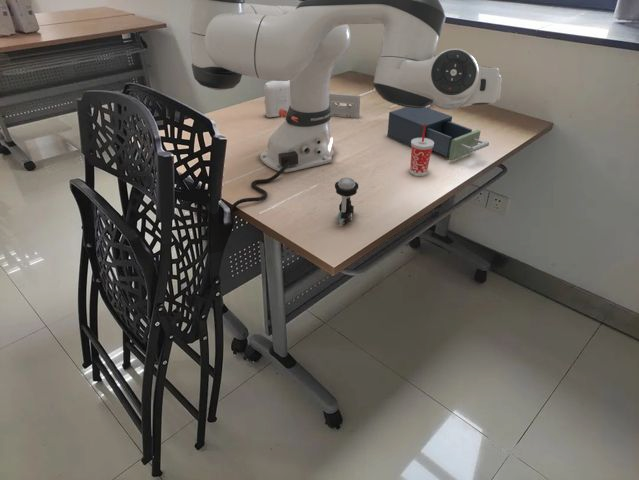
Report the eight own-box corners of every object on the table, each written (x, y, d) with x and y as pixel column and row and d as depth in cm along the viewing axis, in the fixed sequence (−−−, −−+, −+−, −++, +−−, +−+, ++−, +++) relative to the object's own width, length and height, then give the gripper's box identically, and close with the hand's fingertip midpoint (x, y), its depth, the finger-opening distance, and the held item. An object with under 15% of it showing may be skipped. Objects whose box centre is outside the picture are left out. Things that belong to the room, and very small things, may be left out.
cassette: (325, 115, 162) (325, 94, 157) (327, 113, 163) (327, 92, 159) (358, 118, 159) (359, 96, 155) (359, 116, 161) (360, 95, 156)
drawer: (490, 156, 132) (495, 136, 128) (465, 167, 127) (470, 146, 123) (441, 136, 144) (444, 117, 140) (416, 145, 138) (419, 126, 135)
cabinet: (448, 141, 143) (452, 116, 138) (421, 151, 137) (424, 126, 132) (413, 127, 153) (416, 103, 148) (387, 136, 146) (389, 112, 142)
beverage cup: (402, 171, 127) (408, 123, 118) (417, 165, 130) (424, 118, 121) (418, 179, 123) (425, 130, 114) (434, 173, 126) (442, 124, 117)
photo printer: (290, 110, 166) (289, 76, 159) (295, 114, 163) (293, 79, 156) (264, 115, 162) (261, 80, 155) (268, 119, 159) (265, 83, 152)
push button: (350, 230, 103) (352, 191, 97) (328, 225, 105) (329, 187, 99) (359, 215, 108) (361, 178, 102) (338, 211, 110) (339, 174, 104)
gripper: (395, 101, 90) (400, 107, 104) (504, 103, 86) (495, 109, 99) (397, 68, 89) (402, 78, 102) (508, 68, 84) (498, 78, 97)
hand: (448, 93), depth 101 cm, fingers closed
